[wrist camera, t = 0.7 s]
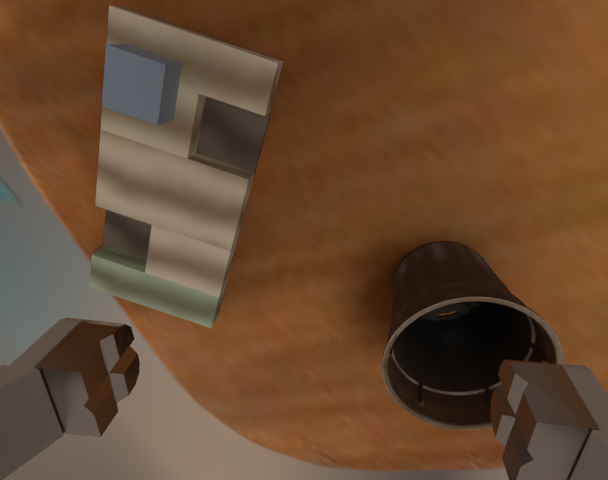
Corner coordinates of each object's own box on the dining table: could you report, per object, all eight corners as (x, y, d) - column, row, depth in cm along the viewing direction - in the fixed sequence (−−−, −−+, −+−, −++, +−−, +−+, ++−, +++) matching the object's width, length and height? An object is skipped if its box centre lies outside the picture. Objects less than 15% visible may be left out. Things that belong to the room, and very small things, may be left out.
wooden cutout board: (124, 7, 45) (109, 5, 42) (283, 61, 45) (278, 63, 42) (101, 276, 61) (89, 287, 58) (218, 315, 61) (211, 328, 58)
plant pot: (485, 203, 48) (535, 272, 34) (525, 309, 54) (583, 408, 39) (358, 253, 53) (354, 332, 39) (406, 346, 59) (418, 445, 44)
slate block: (127, 43, 43) (106, 44, 40) (182, 62, 43) (165, 64, 40) (122, 101, 46) (101, 106, 42) (173, 118, 46) (157, 125, 42)
